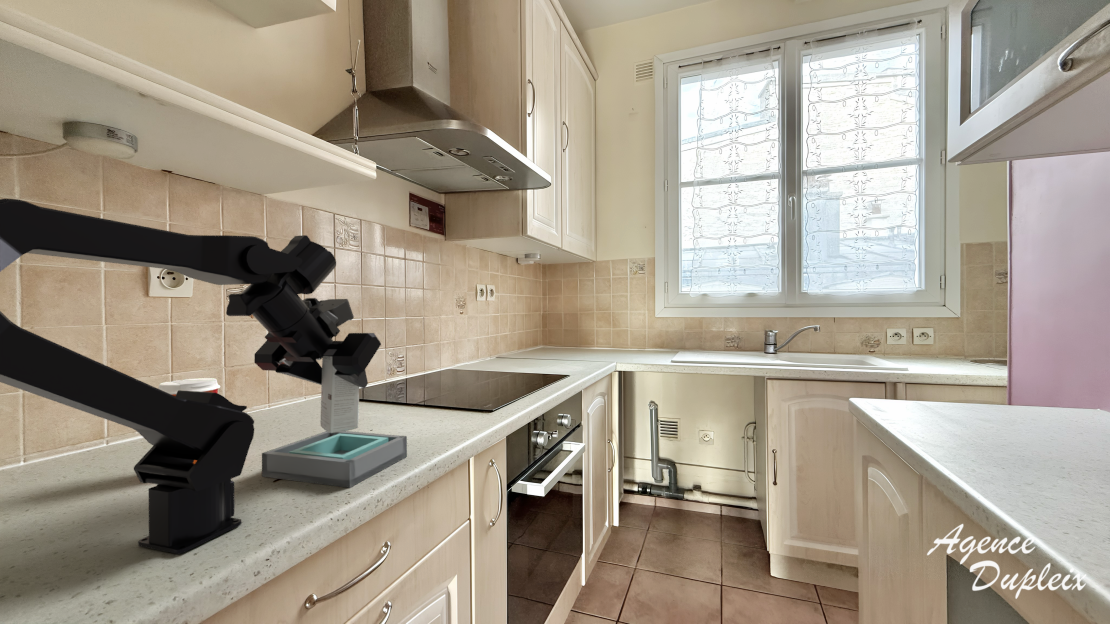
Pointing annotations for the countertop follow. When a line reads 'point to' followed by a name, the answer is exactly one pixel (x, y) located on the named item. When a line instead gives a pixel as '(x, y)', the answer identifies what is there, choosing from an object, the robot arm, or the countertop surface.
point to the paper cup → (190, 386)
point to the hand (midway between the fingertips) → (346, 384)
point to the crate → (334, 457)
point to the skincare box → (337, 400)
